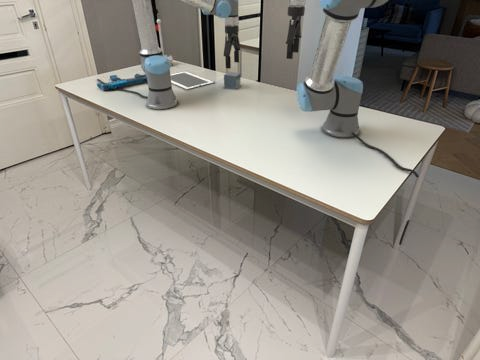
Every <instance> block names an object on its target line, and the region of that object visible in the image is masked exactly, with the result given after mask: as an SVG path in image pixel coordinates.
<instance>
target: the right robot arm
mask: <svg viewBox="0 0 480 360" xmlns="http://www.w3.org/2000/svg"><path fill="white" fill-rule="evenodd" d="M287 1H288V4H287V5H288V7H287V16H288V17H291V19H289V24H288V31H287V35H286V41H285V44H286V45H287V46H286V59H287V60H293V57H294V53H299V49H300V39H302V26H301V25H302V17H304V16H305V12H306V10H305V9H306V7H305V6H306V1H307V0H287ZM387 2H389V0H319V3H320V6H321V8H322V12H323V14H324V16H325V18H324V22H323V26H322V29H321V33H320V36H319V41H318V43H317V48H316V52H315V56H314V59H313V63H312V67H311V71H310V73H308V74H307V75H306V76H305V78H304V82H303V81H301V82H299V83H298V84H297V88H296V97H297V102H298V106H299V108H300V109H301V111H303V112H320V111H329V112H328V115H327V117H326V120H325V121H324V123H323V126H322V130H323V132H324V133H325V134H326V135H329V136H332V137H335V138H339V139H341V138H342V139H349V138H354V137H355V138H356V139H357V140H358V141H360V143H362V144H363V145H364V146H366V147H368V148H370V149H372V150H375V151H377V152H379V153H381V154H383V155H384V156H385V157H387V159H388V160H390V161H391V162H392V164H394V166H396V167H397V168H398V169H400V170H401V171H405V172H410V173H411V174H413V175H415V177H416V178H420V176H419V174H418V173H417V172H416V170H414V169H412V168H408V167H403V166H401V165H399V163H398V162H397V161H396V160H395V159H394V158H392V157H391V156H390V155H389V154H388V153H387V152H385V151H384V150H383V149H381V148H379V147H376V146H373V145H370V144H368V143H367V142H365V141H364V140H363V139H362V138H361V137H360V136H359V132H360V125H359V118H358V117H359V116H358V114H359V111H360V110H359V109H360V105H361V100H362V95H363V90H364V83H363V81H362V80H360V79H359V78H356V77H353V76H349V75H340V74H339V75H336V76H335V77H334V75H335V71H336V69H337V66H338V63H339V60H340V57H341V55H342V52H343V47H344V45H345V42H346V39H347V36H348V33H349V29H350V27H351V23H352V22H353V21H355V20H357V19H358V17H359V15H360V11H361V9H372V8H377V7H378V8H379V7H381V6H383V5H384V4H386V3H387ZM333 77H334V78H333ZM410 222H411V219H408V220H406V223H405V225H404V227H403V230H402V232H401V236H400V239H399V242H398V244H399V245H400V246H402V243H403V240H404V237H405V235H406V233H407V229H408V226H409V224H410Z"/></svg>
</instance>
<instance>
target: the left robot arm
mask: <svg viewBox="0 0 480 360" xmlns="http://www.w3.org/2000/svg"><path fill="white" fill-rule="evenodd" d="M131 1H132V2H131V3H132V7H133V12H134V16H135V22H136V26H137V33H138V37H139V41H140V45H141V46H140V47H141V49H140V50H139V58H140V67H141V69H142V72H143V73H144V74H146V76H147V81H146V82H147V87H148V94H147V96H146V95H143V94H141V93H140V92H138V91H134V90H129V89H124V88H120V87H117V88H116V89H115V90H119V91H123V92H128V93H132V94H135V95H139V96H140V97H141V98H143V99H146V105H147V108H149V109H151V110H167V109H171V108H173V107H176V106H177V105H178V100H177V96H176V94H175V93H174V90H173V84H172V83H171V76H170V75H171V68H170V67H171V66H170V64H169V61H168V59H167V58H166V57H164V56H163V52H162V49H161V47H159V41H158V35H157V30H156V28H155V26H156V24H155V23H156V22H155V17H154V12H153V6H152V0H131ZM180 1H181V2H182V3H185V4H188V5H190V6H191V7H192V6H193V7H195V8H197V9H200V10H201V12H202V14H203V15H207V16H211V15H213V16H215V17H218V18H219V19H223V20H224V34H227V36H225V39H224V48H223V57H225V58H224V59H225V60H224V61H225V69H228V70H229V69H232V61H231V59H232V58H231V51H232V47H233V49H234V50H233V63H236V64H237V63H240V51H241V44H240V38H239V32H240V31H239V30H240V29H239V28H240V27H239V23H240V22H239V21H240V19H239V18H240V17H239V0H180ZM96 80H97V81H98V82H99V83H105V82H104V81H102V80H101V79H99V78H97V79H96Z"/></svg>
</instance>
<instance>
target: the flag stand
mask: <svg viewBox="0 0 480 360" xmlns="http://www.w3.org/2000/svg"><path fill="white" fill-rule="evenodd" d="M156 23H157V24H155V28H156V31H157V32H158V33H159V42H160V48H161V49H162V52H163V56H164V57H166V58H167V59H168V61H169V64H170V67H171V66H172V65H173V61H174V57H173V55H169V56H168V55H167V54H165V50H164V42H163V34H162V25H161V23H162V19H160V18H158V19H157V20H156Z"/></svg>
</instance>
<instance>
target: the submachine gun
mask: <svg viewBox="0 0 480 360" xmlns="http://www.w3.org/2000/svg"><path fill="white" fill-rule="evenodd" d="M109 79H110V80H111V81H110V82H104V83H101V82H96V87H97V88H99V89H100V90H101V91H105V90H112V89H113V90H117V89H116V88H120V87H121V88H122V87H126V86H130V85H135V84H140V83H145V82H146V83H147V82H148V81H147V76H146V74H145V73H144V74H140V73H135V74H134V77H130V78H121V77H118V75H116V74H114V75H109Z"/></svg>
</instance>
